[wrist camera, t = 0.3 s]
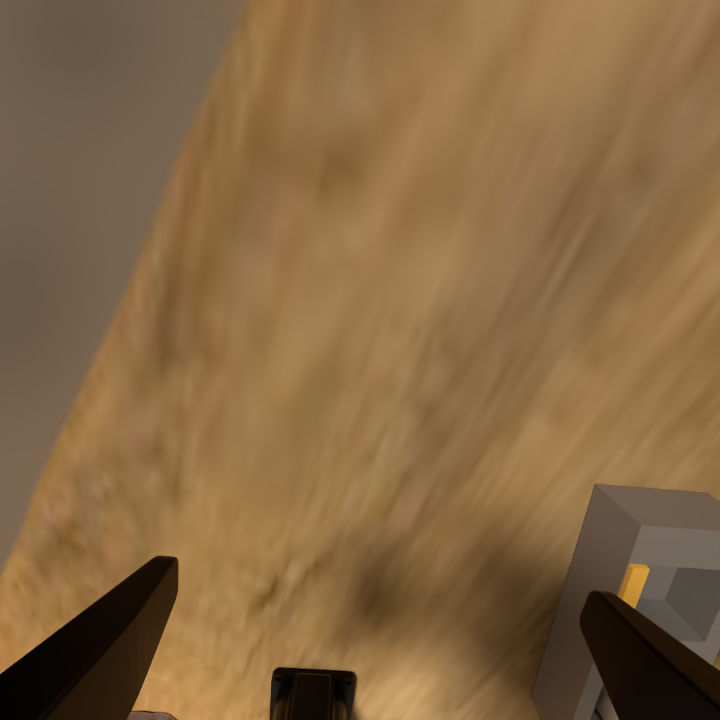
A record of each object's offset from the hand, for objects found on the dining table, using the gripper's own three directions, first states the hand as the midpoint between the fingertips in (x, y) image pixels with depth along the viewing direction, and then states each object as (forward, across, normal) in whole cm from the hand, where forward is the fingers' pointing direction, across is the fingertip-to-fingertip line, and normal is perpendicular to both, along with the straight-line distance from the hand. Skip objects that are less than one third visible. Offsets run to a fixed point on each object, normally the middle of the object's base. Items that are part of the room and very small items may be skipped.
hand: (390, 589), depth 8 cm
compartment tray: (+14, -21, +15) cm, 30 cm away
